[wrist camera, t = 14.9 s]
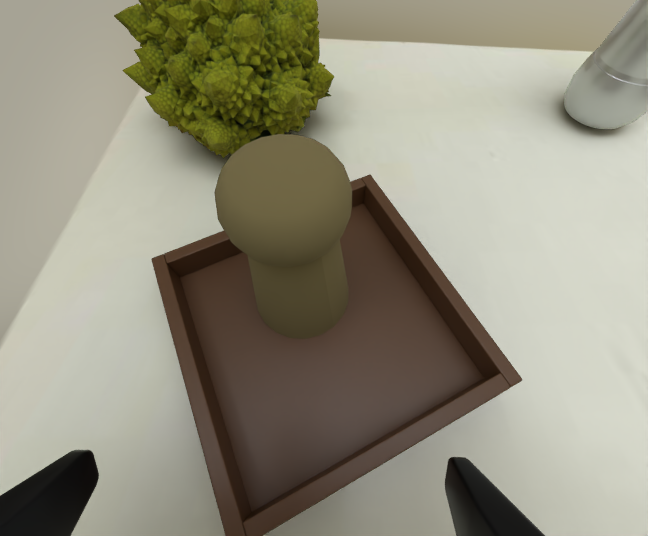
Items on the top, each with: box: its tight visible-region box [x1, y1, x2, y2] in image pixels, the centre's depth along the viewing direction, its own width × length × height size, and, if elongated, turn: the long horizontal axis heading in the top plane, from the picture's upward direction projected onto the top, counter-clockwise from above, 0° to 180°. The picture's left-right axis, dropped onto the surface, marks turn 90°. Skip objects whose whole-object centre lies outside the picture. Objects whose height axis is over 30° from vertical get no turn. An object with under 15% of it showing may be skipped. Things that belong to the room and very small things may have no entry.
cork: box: [215, 134, 352, 339], centre depth 16 cm, size 6×6×11 cm
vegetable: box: [114, 0, 334, 158], centre depth 25 cm, size 15×16×15 cm
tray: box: [152, 175, 522, 536], centre depth 19 cm, size 16×16×3 cm
